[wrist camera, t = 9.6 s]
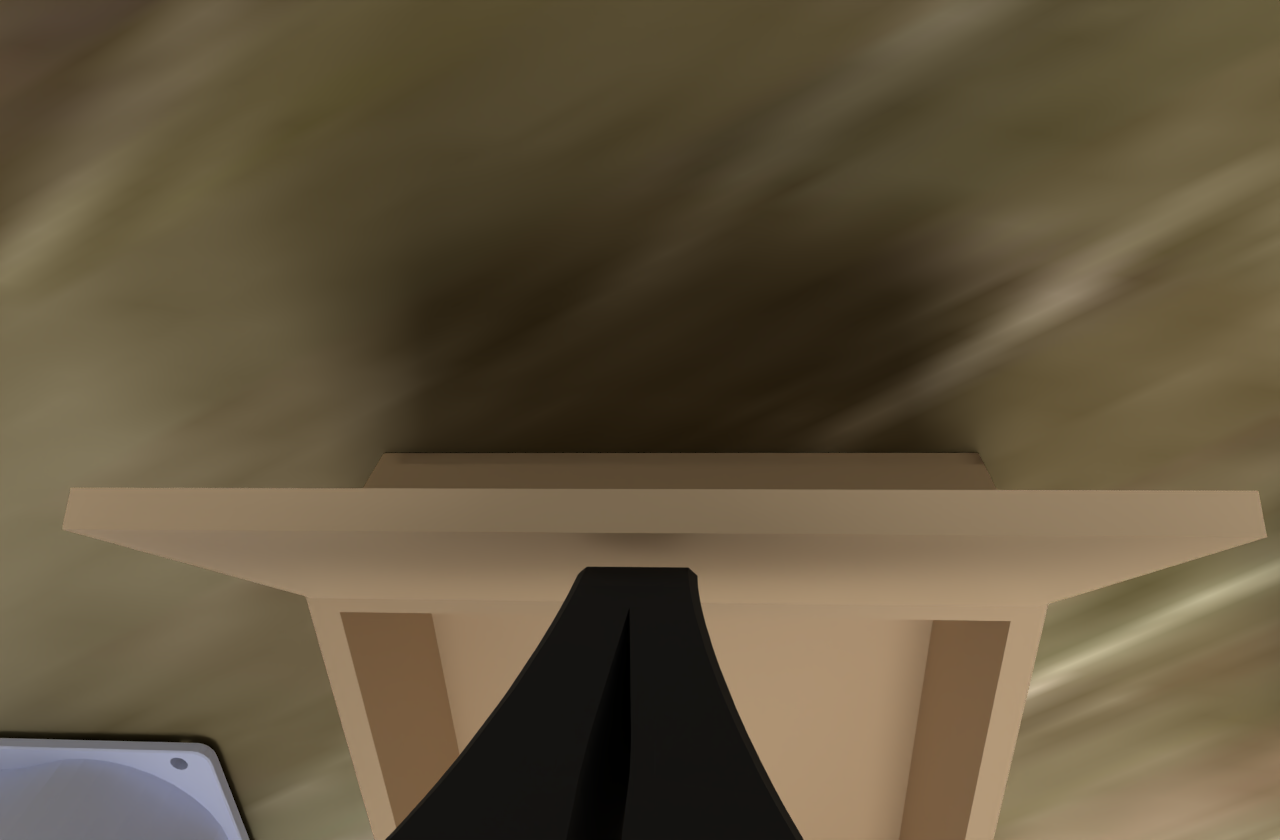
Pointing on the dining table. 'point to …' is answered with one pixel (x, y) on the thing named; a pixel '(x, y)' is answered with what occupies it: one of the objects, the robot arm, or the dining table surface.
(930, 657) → the carton
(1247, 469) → the dining table surface
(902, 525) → the flap
